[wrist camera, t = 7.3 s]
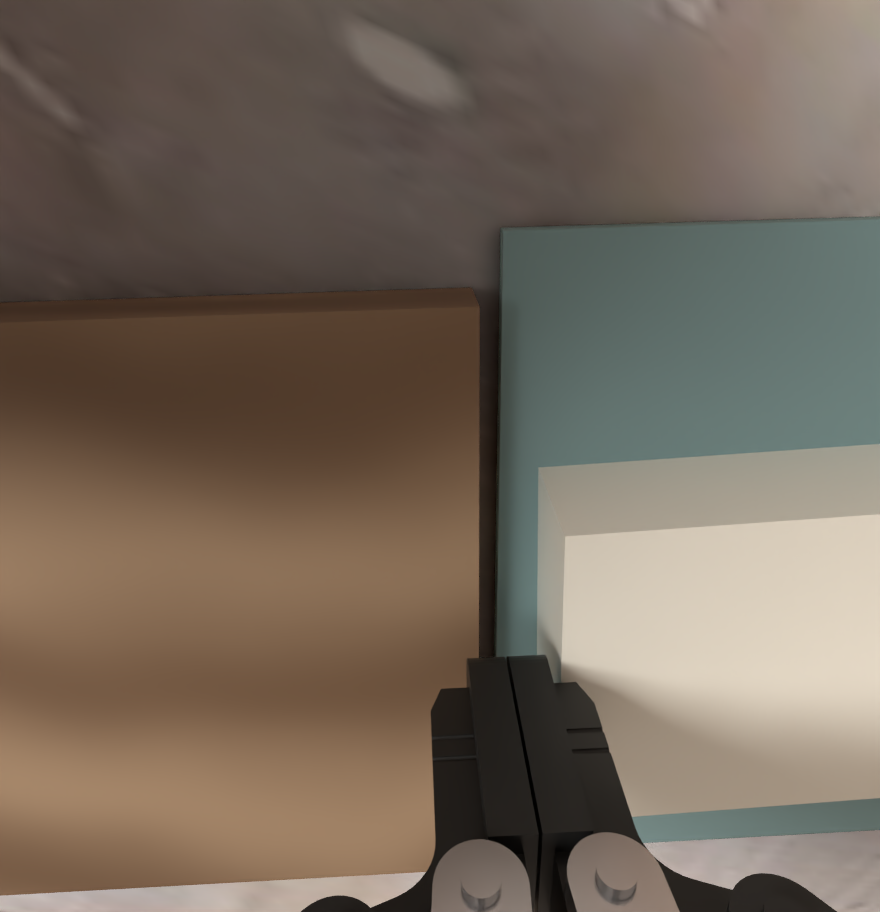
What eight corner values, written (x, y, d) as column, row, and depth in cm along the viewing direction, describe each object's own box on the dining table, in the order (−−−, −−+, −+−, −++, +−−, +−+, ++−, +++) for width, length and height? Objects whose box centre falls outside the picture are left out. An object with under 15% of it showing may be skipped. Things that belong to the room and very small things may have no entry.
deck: (-219, 309, 12) (-301, 332, 10) (471, 287, 12) (479, 306, 11) (19, 838, 18) (-14, 896, 16) (473, 813, 18) (478, 868, 17)
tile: (538, 467, 13) (564, 536, 11) (942, 439, 13) (1051, 502, 11) (535, 726, 16) (556, 822, 14) (865, 702, 16) (938, 793, 14)
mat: (500, 227, 12) (503, 230, 11) (1176, 207, 12) (1200, 209, 12) (491, 837, 18) (492, 851, 18) (918, 813, 19) (928, 827, 18)
